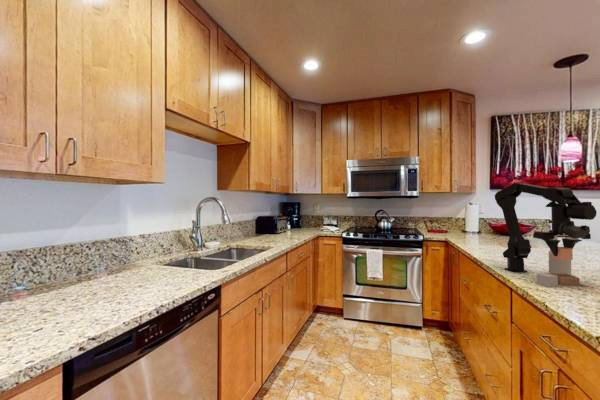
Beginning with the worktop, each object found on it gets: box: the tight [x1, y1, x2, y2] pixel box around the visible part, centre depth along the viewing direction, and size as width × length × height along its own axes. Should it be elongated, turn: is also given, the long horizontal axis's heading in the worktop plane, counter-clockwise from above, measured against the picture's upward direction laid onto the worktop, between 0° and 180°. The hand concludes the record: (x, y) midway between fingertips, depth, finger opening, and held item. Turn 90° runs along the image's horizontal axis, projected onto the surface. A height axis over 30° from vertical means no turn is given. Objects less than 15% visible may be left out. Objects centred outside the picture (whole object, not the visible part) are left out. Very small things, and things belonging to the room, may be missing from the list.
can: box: [548, 249, 572, 275], centre depth 126 cm, size 8×8×12 cm
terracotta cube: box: [551, 246, 573, 261], centre depth 114 cm, size 4×4×4 cm
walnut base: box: [547, 272, 581, 287], centre depth 114 cm, size 7×7×4 cm
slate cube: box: [536, 272, 559, 289], centre depth 111 cm, size 4×4×4 cm
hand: (561, 256), depth 114 cm, fingers closed on terracotta cube, 4 cm apart
